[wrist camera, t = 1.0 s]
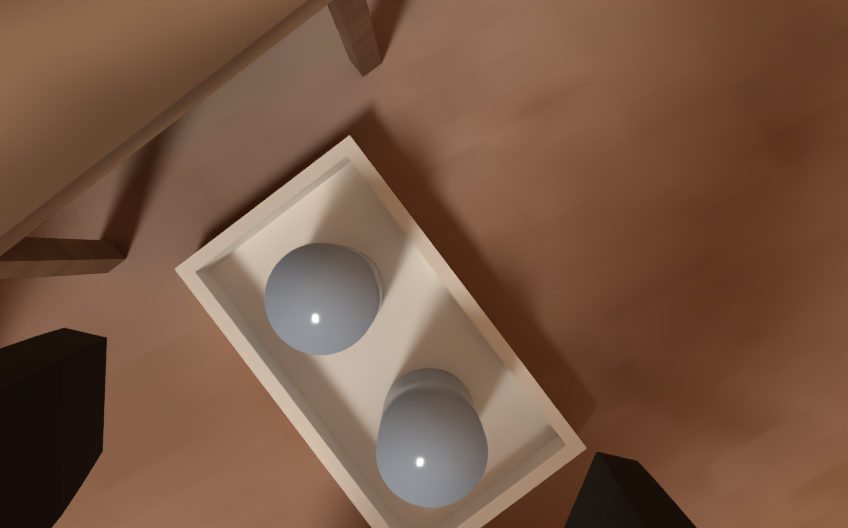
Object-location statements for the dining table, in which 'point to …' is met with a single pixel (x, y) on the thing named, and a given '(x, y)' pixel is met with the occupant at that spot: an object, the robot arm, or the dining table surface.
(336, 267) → the grey dome
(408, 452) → the grey rounded dome
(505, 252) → the dining table surface
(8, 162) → the wooden side table
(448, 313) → the tray
